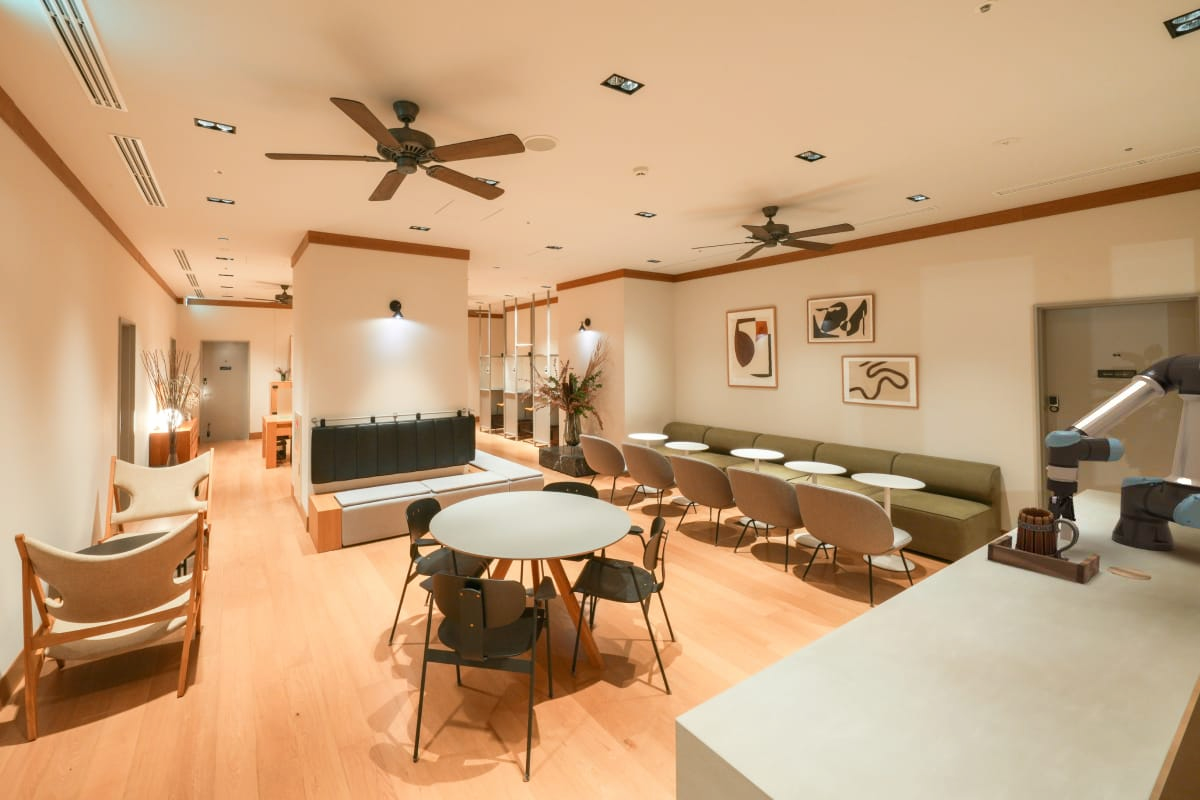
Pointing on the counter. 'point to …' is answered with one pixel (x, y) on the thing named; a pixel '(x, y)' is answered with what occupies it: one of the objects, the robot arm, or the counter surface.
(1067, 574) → the bay
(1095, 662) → the counter surface
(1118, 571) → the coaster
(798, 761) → the counter surface
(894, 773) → the counter surface
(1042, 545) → the mug
